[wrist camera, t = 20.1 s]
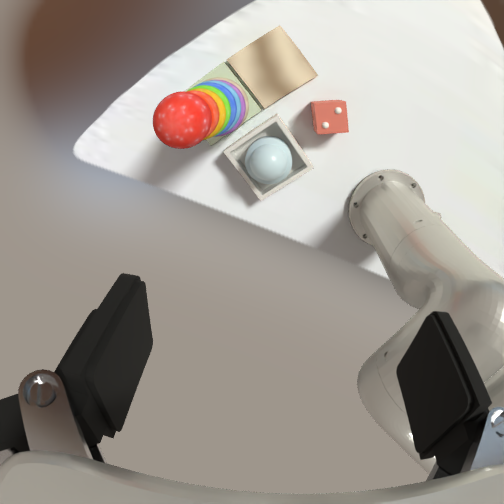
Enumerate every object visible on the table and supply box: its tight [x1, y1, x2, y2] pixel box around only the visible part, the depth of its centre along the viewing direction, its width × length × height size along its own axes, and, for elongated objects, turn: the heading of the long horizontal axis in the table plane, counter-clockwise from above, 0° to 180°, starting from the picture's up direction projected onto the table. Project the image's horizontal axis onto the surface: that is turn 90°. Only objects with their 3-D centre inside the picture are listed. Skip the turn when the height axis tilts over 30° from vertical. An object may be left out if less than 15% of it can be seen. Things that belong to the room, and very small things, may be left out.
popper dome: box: [245, 136, 292, 184], centre depth 39 cm, size 6×6×5 cm
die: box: [311, 100, 349, 134], centre depth 37 cm, size 4×4×4 cm
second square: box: [184, 62, 262, 146], centre depth 39 cm, size 8×8×1 cm
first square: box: [227, 26, 318, 108], centre depth 36 cm, size 8×8×1 cm
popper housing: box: [224, 114, 314, 201], centre depth 41 cm, size 9×9×3 cm
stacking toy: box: [153, 77, 249, 149], centre depth 30 cm, size 8×8×19 cm
